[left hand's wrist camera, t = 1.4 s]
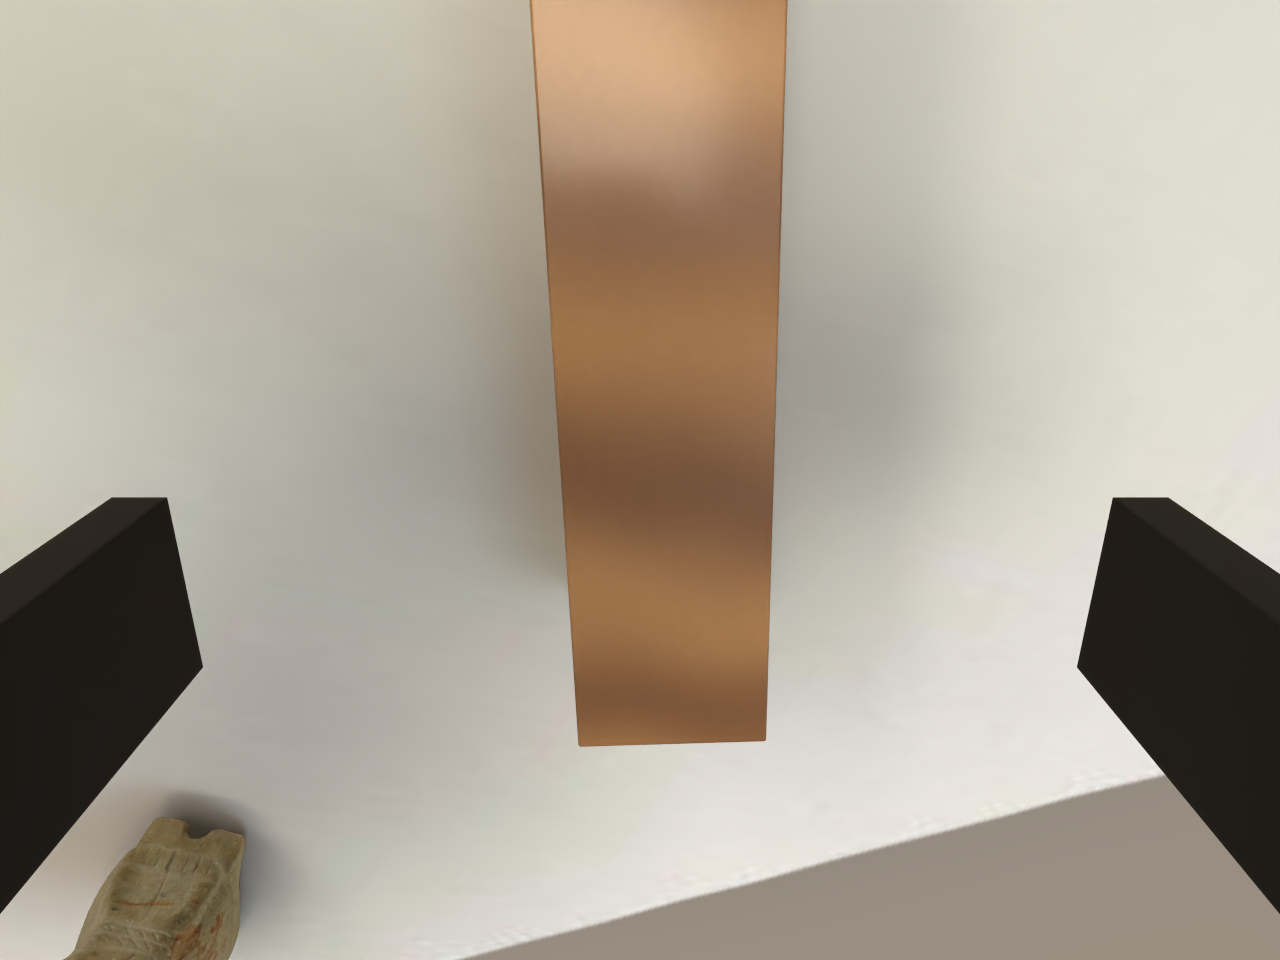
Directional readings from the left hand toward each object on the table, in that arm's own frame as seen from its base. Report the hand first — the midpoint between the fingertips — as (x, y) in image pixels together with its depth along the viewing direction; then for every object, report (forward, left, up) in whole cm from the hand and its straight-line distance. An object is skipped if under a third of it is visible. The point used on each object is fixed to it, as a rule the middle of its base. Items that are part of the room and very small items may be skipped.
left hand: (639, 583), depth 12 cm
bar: (+10, +29, -17) cm, 35 cm away
